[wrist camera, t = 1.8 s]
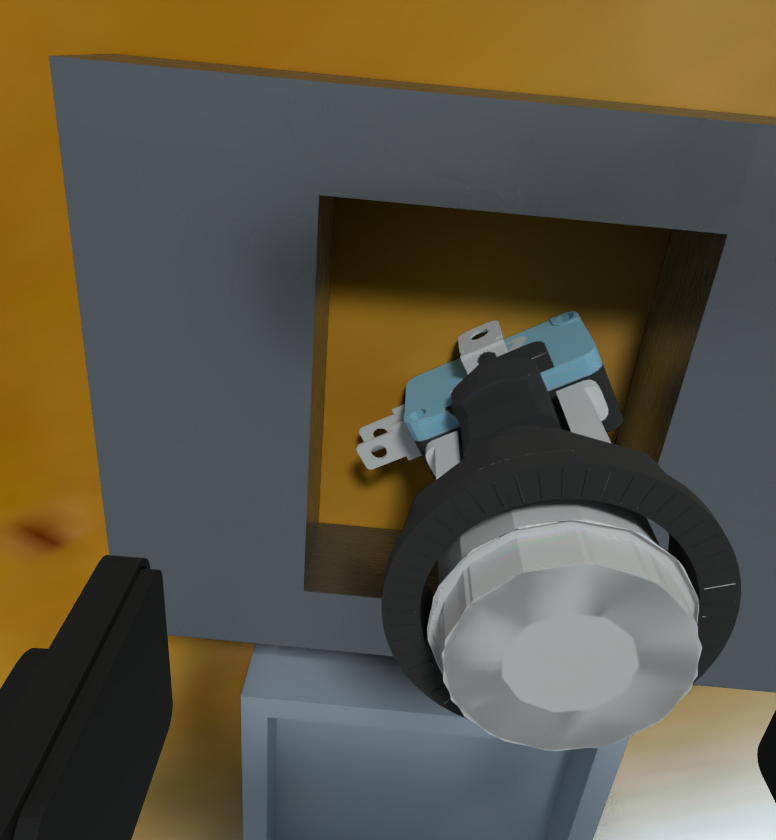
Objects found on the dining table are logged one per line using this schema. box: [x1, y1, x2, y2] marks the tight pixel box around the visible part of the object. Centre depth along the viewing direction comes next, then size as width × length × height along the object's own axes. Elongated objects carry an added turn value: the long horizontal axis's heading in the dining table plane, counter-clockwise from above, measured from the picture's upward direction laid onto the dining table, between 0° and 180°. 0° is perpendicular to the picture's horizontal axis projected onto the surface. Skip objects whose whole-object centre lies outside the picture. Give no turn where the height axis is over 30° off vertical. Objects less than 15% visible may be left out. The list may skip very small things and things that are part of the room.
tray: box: [241, 643, 630, 840], centre depth 25 cm, size 12×12×2 cm
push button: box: [356, 311, 741, 751], centre depth 15 cm, size 7×5×10 cm
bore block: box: [49, 54, 776, 693], centre depth 18 cm, size 18×14×3 cm
